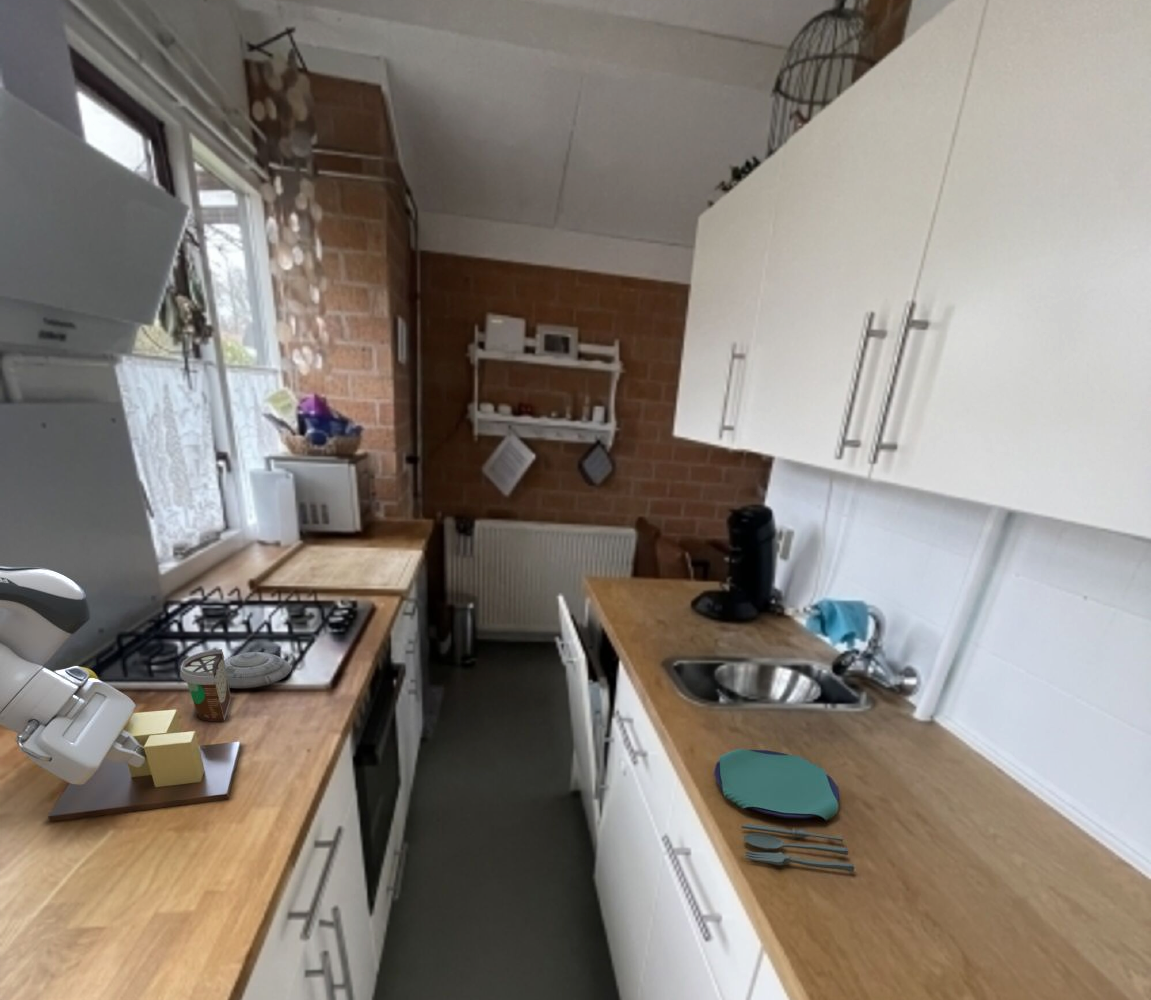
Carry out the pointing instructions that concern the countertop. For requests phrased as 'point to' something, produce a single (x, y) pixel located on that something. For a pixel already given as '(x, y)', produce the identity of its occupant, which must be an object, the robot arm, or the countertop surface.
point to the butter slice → (174, 758)
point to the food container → (208, 684)
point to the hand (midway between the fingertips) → (144, 759)
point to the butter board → (147, 787)
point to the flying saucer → (255, 669)
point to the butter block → (151, 731)
